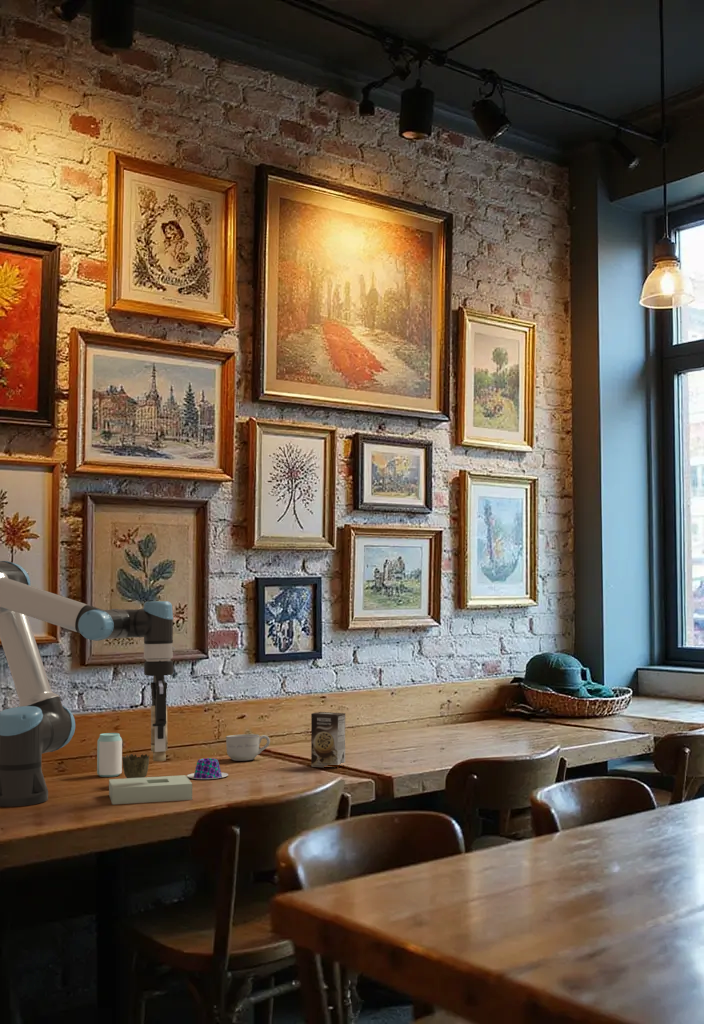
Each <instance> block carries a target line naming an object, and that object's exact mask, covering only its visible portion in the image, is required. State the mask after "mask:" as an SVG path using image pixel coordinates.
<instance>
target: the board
mask: <svg viewBox="0 0 704 1024" xmlns="http://www.w3.org/2000/svg"><path fill="white" fill-rule="evenodd" d="M108 795H109V799H110V801H111V805H124V804H127V805H128V804H142V803H143V804H144V803H161V802H174V801H175V802H177V801H189V800H193V783H192V782H191V780H190V778H189V777H187V775H184V774H183V775H181V774H180V775H167V776H166V775H165V776H147V777H146V776H145V777H143V778H126V777H124V778H112V779H111V778H110V779H108Z"/></svg>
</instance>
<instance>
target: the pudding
mask: <svg viewBox="0 0 704 1024" xmlns="http://www.w3.org/2000/svg"><path fill="white" fill-rule="evenodd" d="M228 776H229V773H227V772H222V771H221V767H220V763H219V760H218V759H217V758H212V757H211V758H210V757H207V758H199V759H198V760H197V761H196V766H195V769H194V773H193V772H192V773H190V774H189V773H188V774H187V775H186V777H187V778H188V779H192V780H193V779H194V780H217V779H222V778H225V777H228Z"/></svg>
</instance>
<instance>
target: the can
mask: <svg viewBox="0 0 704 1024" xmlns="http://www.w3.org/2000/svg"><path fill="white" fill-rule="evenodd" d="M96 749H97V750H96V751H97V753H96V754H97V756H96V757H97V760H96V764H97V765H96V774H97V775H98V776H99V777H100V778H101V777H102V778H114V777H118V776H120V775H121V774H122V772H123V769H122V768H123V760H122V756H123V739H122V737H121V734H120V733H118V732H106V733H100V734H99V737H98V739H97V748H96Z"/></svg>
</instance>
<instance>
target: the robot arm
mask: <svg viewBox="0 0 704 1024" xmlns="http://www.w3.org/2000/svg"><path fill="white" fill-rule="evenodd" d="M29 617H31V618H33V619H36V620H38V621H39V620H40V621H42V622H46V623H48V624H52V625H54V626H57V627H60V628H63V629H66V630H69V631H73V632H75V633H78V634H81V635H82V636H83V638H84V639H87V640H89V641H90V640H91V641H95V642H96V641H103V640H104V641H105V640H114V639H124V638H125V639H126V638H127V639H128V638H130V639H132V638H139V639H140V638H143V659H144V660H146V661H144V662H143V674H144V676H148V677H152V679H153V680H152V682H150V690H151V691H150V692H151V694H150V695H151V696H150V697H151V706H155V724H153V726H155V752H163V751H166V735H165V724H166V723H167V724H168V720H167V721H166V705H167V689H168V682H166V681H165V677H166V676H172V675H173V674H174V661H173V660H171V659H173V658H174V651H176V647H175V646H173V645H174V640H173V638H174V635H173V634H174V633H173V632H174V614H173V605H172V603H171V602H170V601H168V600H164V601H163V600H160V601H154V600H153V601H145V602H144V603H143V607H142V608H139V609H136V608H135V609H134V608H133V609H132V608H131V609H130V608H129V609H123V608H122V609H118V608H113V609H102V608H99V607H96V606H92V605H90V604H86V603H84V602H80V601H77V600H75V599H72V598H68V597H66V596H63V595H59V594H57V593H53V592H50V591H47V590H45V589H41V588H38V587H35V586H32V585H31V579H30V575H29V573H28V572H27V571H26V569H25V568H23V567H22V565H20V564H17V563H15V562H11V561H7V560H0V642H1V645H2V648H3V652H4V654H5V658H6V662H7V664H8V668H9V671H10V674H11V677H12V680H13V684H14V687H15V690H16V694H17V697H18V701H19V704H18V706H15V707H10V708H5V709H3V710H1V711H0V807H2V808H3V807H24V806H31V805H32V806H33V805H37V804H38V805H39V804H41V803H44V802H45V803H46V802H47V801H48V800H49V789H48V787H47V783H46V780H45V777H44V774H43V770H42V757H43V756H42V754H46V753H53V752H56V751H58V750H60V749H62V748H63V747H64V748H65V747H66V745H68V744H69V743H70V741H72V738H73V736H74V734H75V730H76V719H75V716H74V715H73V713H72V711H71V710H70V709H68V708H67V707H65V706H63V704H62V700H61V698H60V697H61V696H60V695H58V694H57V693H55V692H53V691H52V689H51V685H50V682H49V679H48V676H47V672H46V669H45V666H44V664H43V660H42V657H41V654H40V650H39V647H38V644H37V642H36V638H35V635H34V632H33V628H32V625H31V622H30V619H29Z"/></svg>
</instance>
